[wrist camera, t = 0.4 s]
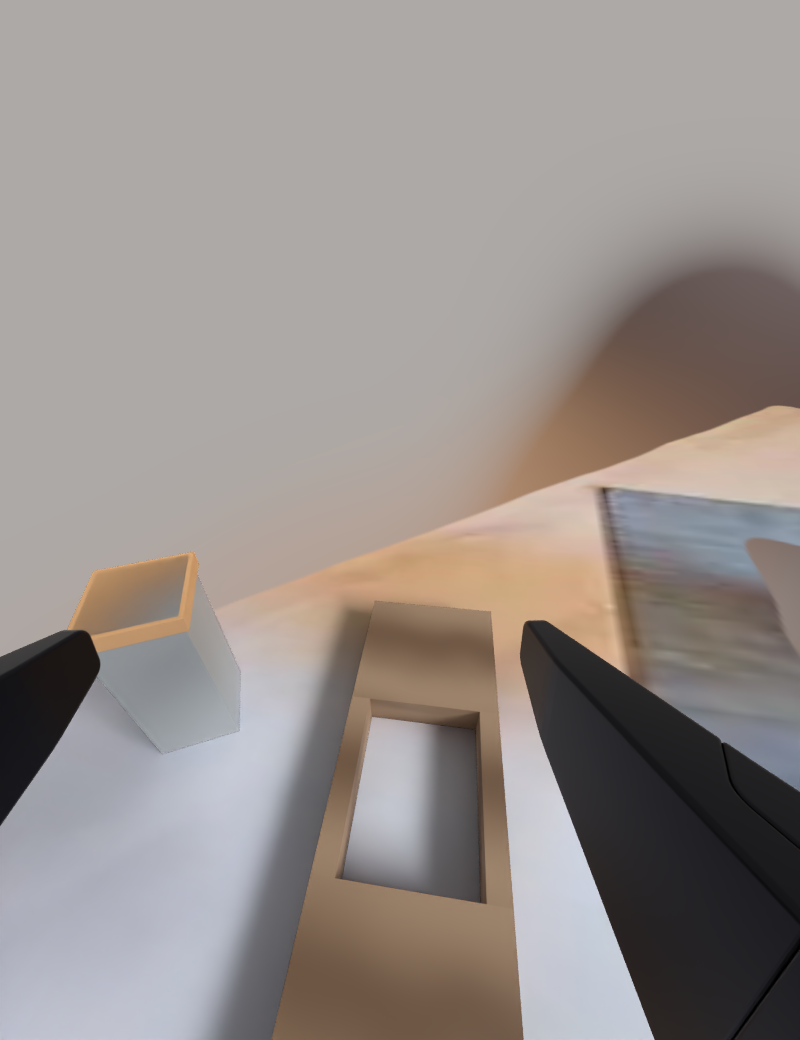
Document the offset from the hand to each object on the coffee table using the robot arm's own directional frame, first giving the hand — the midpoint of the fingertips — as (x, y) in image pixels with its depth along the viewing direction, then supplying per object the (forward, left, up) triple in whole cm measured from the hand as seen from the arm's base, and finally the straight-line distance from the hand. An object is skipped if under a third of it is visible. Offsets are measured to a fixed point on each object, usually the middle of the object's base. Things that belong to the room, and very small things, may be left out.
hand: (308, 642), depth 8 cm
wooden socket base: (+3, -2, -16) cm, 16 cm away
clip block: (+6, +11, -16) cm, 20 cm away
